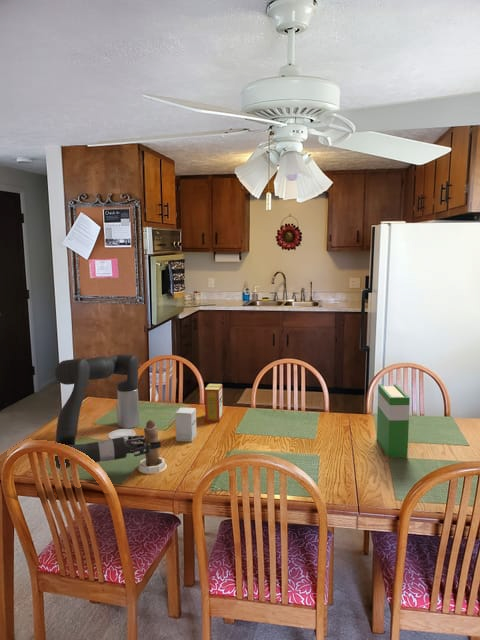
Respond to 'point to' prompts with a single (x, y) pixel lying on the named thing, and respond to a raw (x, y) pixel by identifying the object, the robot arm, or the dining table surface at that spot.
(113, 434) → the ramekin
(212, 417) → the baking soda box
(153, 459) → the pepper mill
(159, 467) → the ring coaster
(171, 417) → the dining table surface
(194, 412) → the supplement box
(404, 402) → the hardback book
